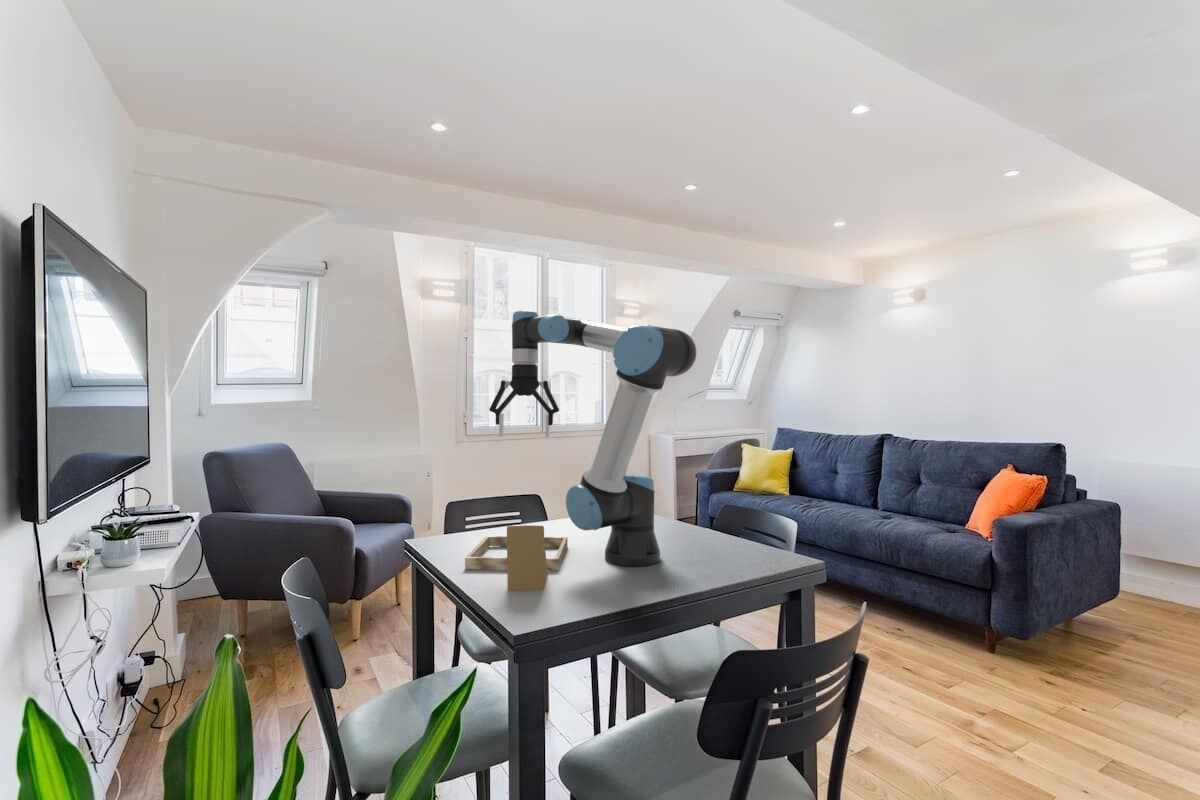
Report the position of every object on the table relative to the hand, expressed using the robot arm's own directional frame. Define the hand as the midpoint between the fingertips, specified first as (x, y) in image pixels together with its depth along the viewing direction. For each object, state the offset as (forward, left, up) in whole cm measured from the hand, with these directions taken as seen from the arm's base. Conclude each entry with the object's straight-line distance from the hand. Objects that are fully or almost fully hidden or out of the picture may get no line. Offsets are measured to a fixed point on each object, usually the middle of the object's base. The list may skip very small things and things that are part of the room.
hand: (524, 436), depth 174 cm
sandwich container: (-7, +32, -33) cm, 46 cm away
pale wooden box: (-1, +11, -33) cm, 35 cm away
